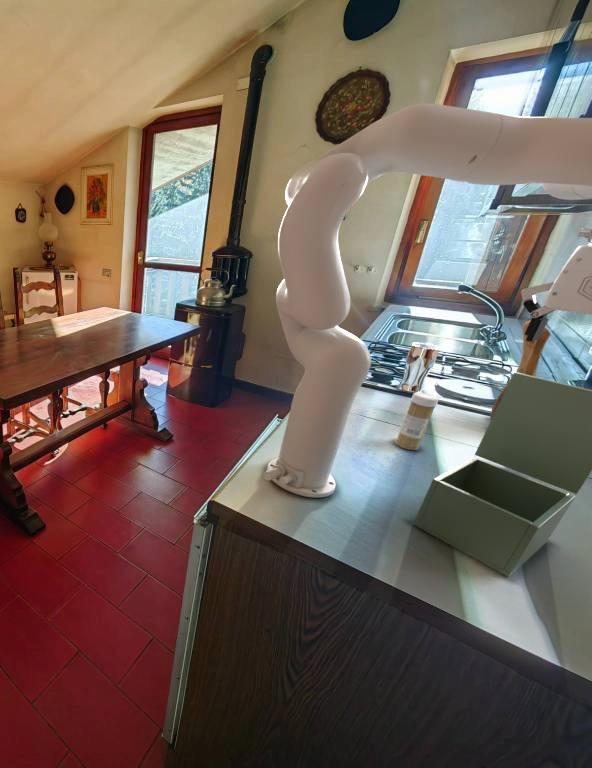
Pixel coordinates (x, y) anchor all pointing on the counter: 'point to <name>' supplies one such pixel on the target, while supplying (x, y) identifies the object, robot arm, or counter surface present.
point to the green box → (492, 513)
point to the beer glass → (418, 366)
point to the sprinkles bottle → (416, 420)
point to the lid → (542, 431)
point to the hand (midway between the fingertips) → (572, 348)
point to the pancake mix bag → (527, 359)
